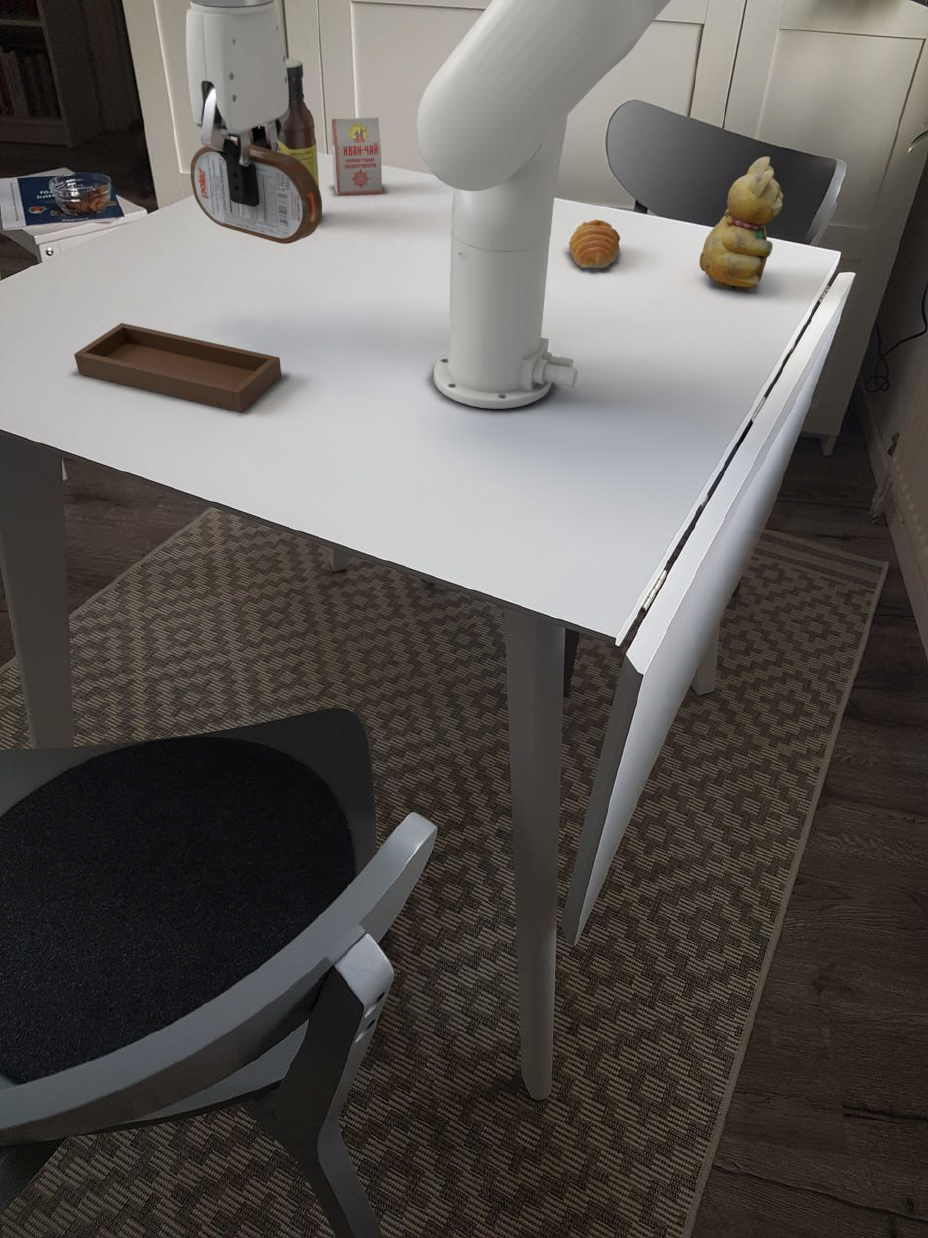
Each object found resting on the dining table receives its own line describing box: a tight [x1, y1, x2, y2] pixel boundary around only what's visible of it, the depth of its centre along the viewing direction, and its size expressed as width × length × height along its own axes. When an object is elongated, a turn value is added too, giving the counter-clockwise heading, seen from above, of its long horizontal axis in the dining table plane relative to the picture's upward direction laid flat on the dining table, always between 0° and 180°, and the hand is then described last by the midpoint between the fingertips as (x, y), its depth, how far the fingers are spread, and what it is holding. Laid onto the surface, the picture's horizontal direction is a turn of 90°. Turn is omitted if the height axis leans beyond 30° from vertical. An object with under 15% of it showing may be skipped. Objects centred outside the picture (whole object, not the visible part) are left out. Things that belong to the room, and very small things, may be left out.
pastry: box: [568, 219, 621, 269], centre depth 127 cm, size 9×7×4 cm
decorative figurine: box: [699, 156, 784, 293], centre depth 118 cm, size 10×8×15 cm
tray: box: [73, 322, 283, 413], centre depth 100 cm, size 20×8×2 cm, turn 69°
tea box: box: [331, 116, 383, 196], centre depth 142 cm, size 4×7×10 cm, turn 103°
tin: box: [190, 139, 323, 245], centre depth 98 cm, size 15×3×8 cm, turn 63°
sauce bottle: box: [278, 58, 320, 188], centre depth 129 cm, size 7×6×20 cm
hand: (255, 196), depth 99 cm, fingers closed on tin, 2 cm apart
